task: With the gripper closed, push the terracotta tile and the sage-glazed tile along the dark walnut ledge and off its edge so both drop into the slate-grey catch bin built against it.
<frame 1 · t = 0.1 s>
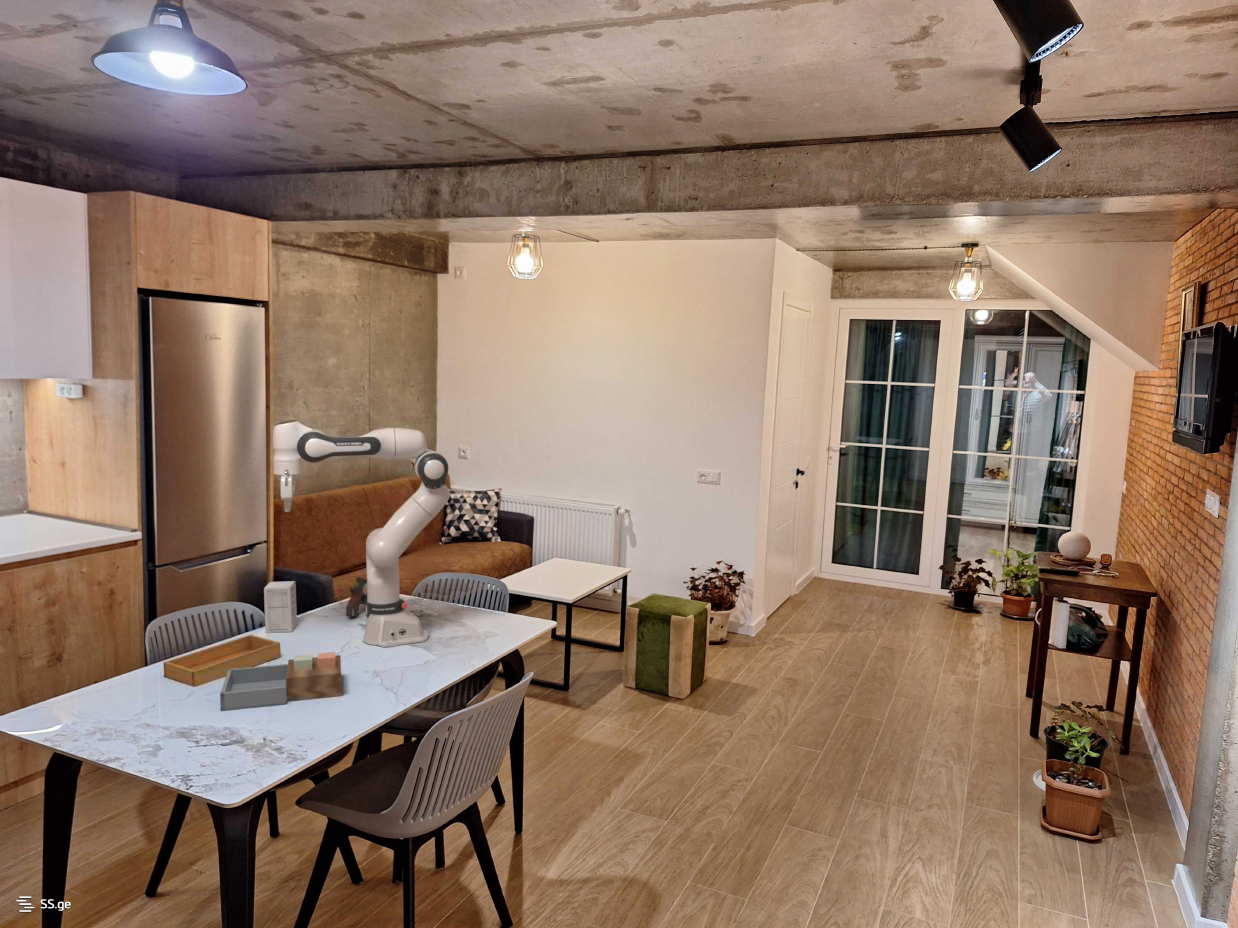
hand: (288, 509, 281), 48 cm above the table, fingers open, 8 cm apart
sage tile: (303, 667, 248), point 7 cm above the table, touching walnut ledge
supplement box: (281, 629, 305), on the table
gun: (364, 610, 332), on the table
tray: (224, 668, 266), on the table
walnut ledge: (314, 688, 249), on the table
catch bin: (256, 694, 244), on the table
terracotta tile: (326, 665, 250), point 7 cm above the table, touching walnut ledge
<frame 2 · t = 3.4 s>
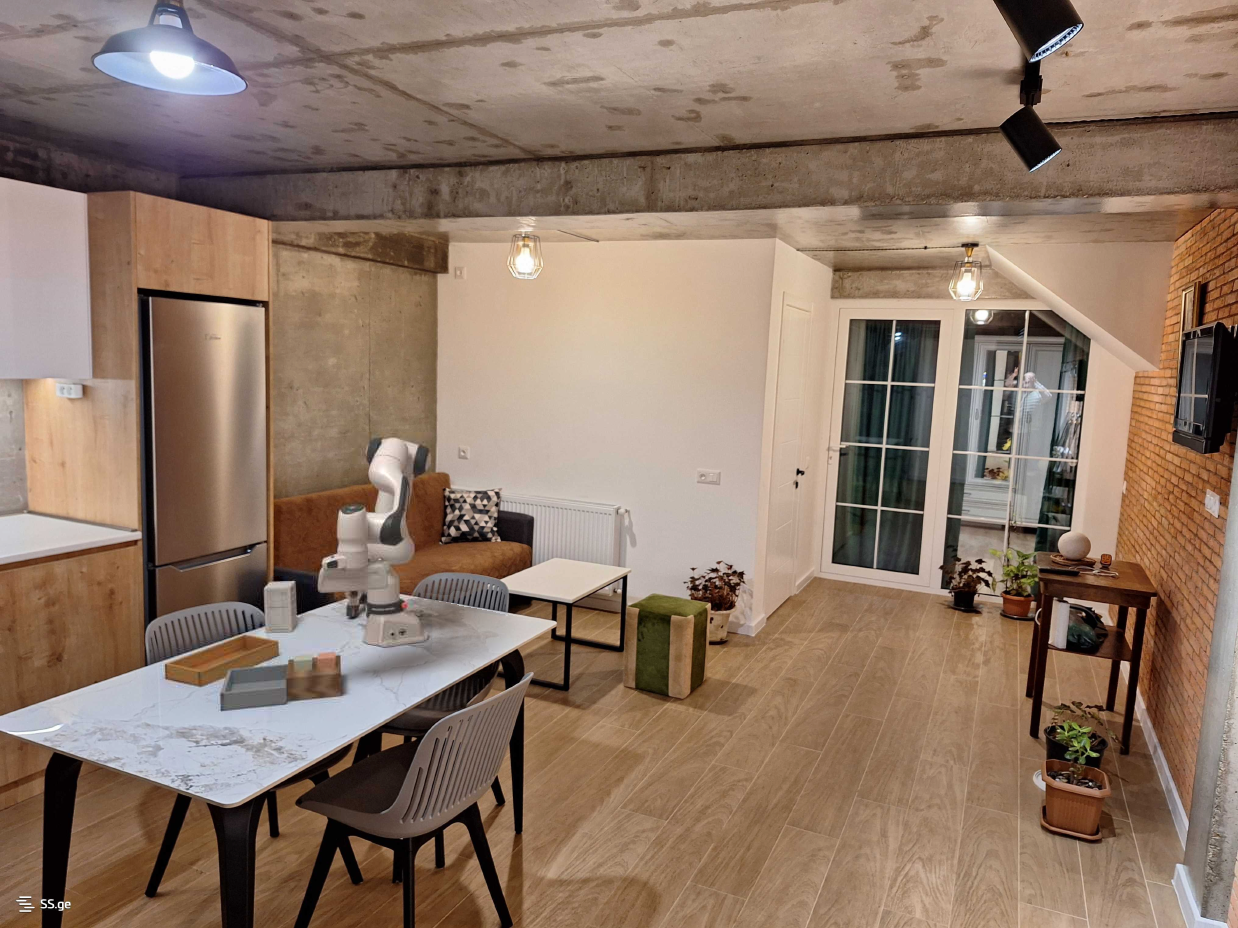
hand: (353, 604, 250), 25 cm above the table, fingers closed
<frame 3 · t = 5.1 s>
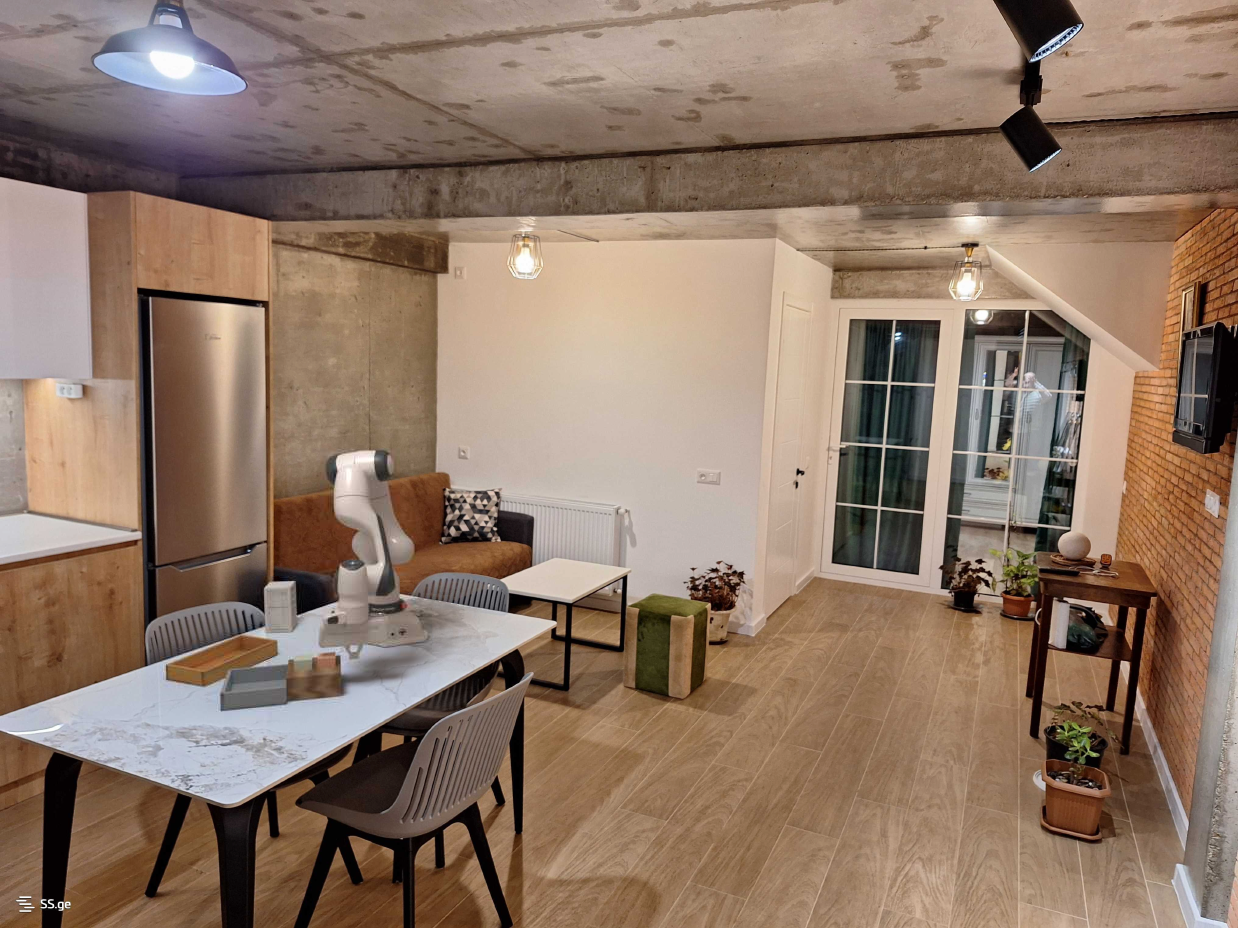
hand: (354, 658, 252), 8 cm above the table, fingers closed
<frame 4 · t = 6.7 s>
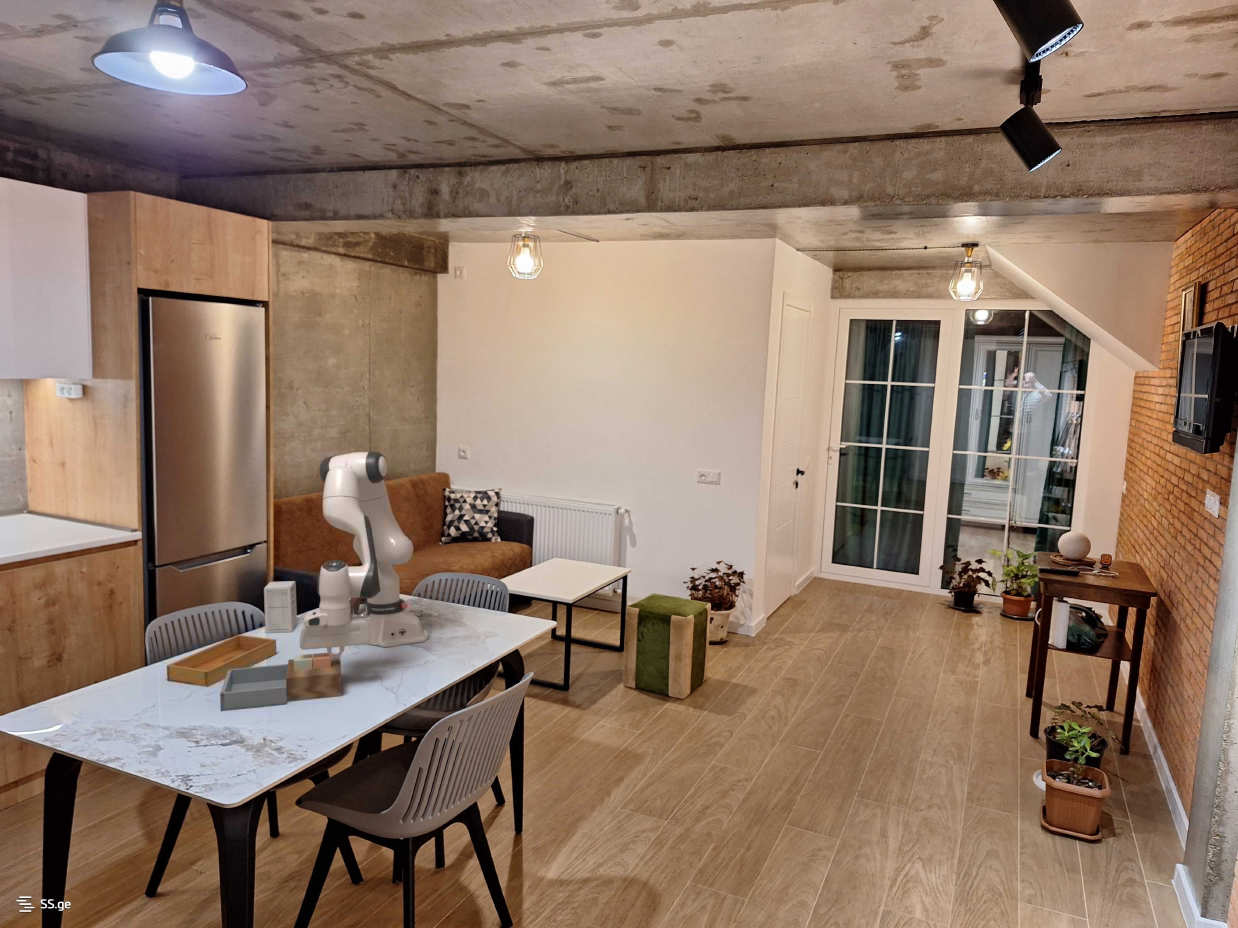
hand: (335, 660, 250), 8 cm above the table, fingers closed
terracotta tile: (321, 665, 249), point 7 cm above the table, touching gripper, walnut ledge
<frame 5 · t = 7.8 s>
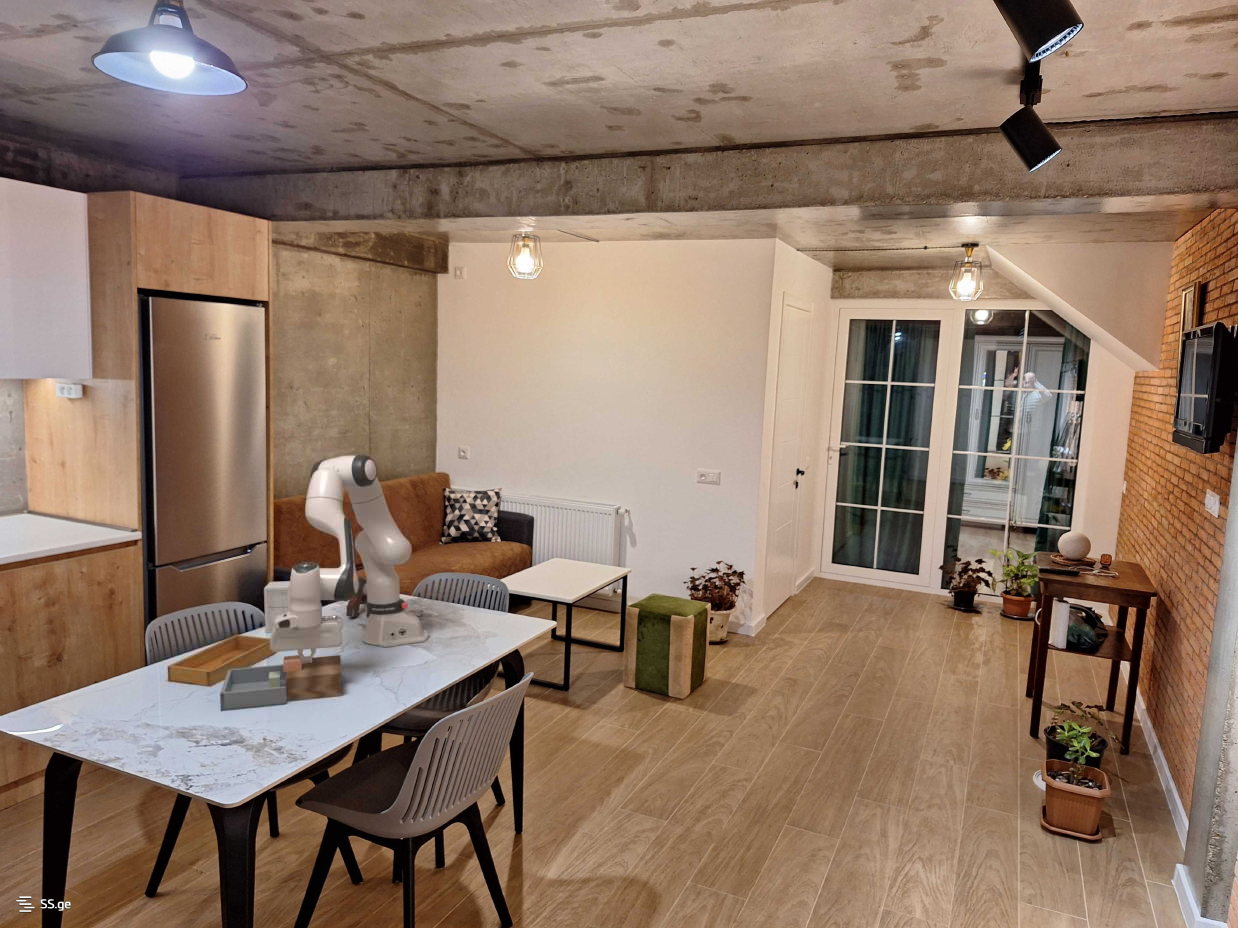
hand: (307, 662, 248), 8 cm above the table, fingers closed
sage tile: (280, 682, 246), point 3 cm above the table, tilted 90°, touching catch bin
terracotta tile: (292, 668, 247), point 7 cm above the table, touching gripper
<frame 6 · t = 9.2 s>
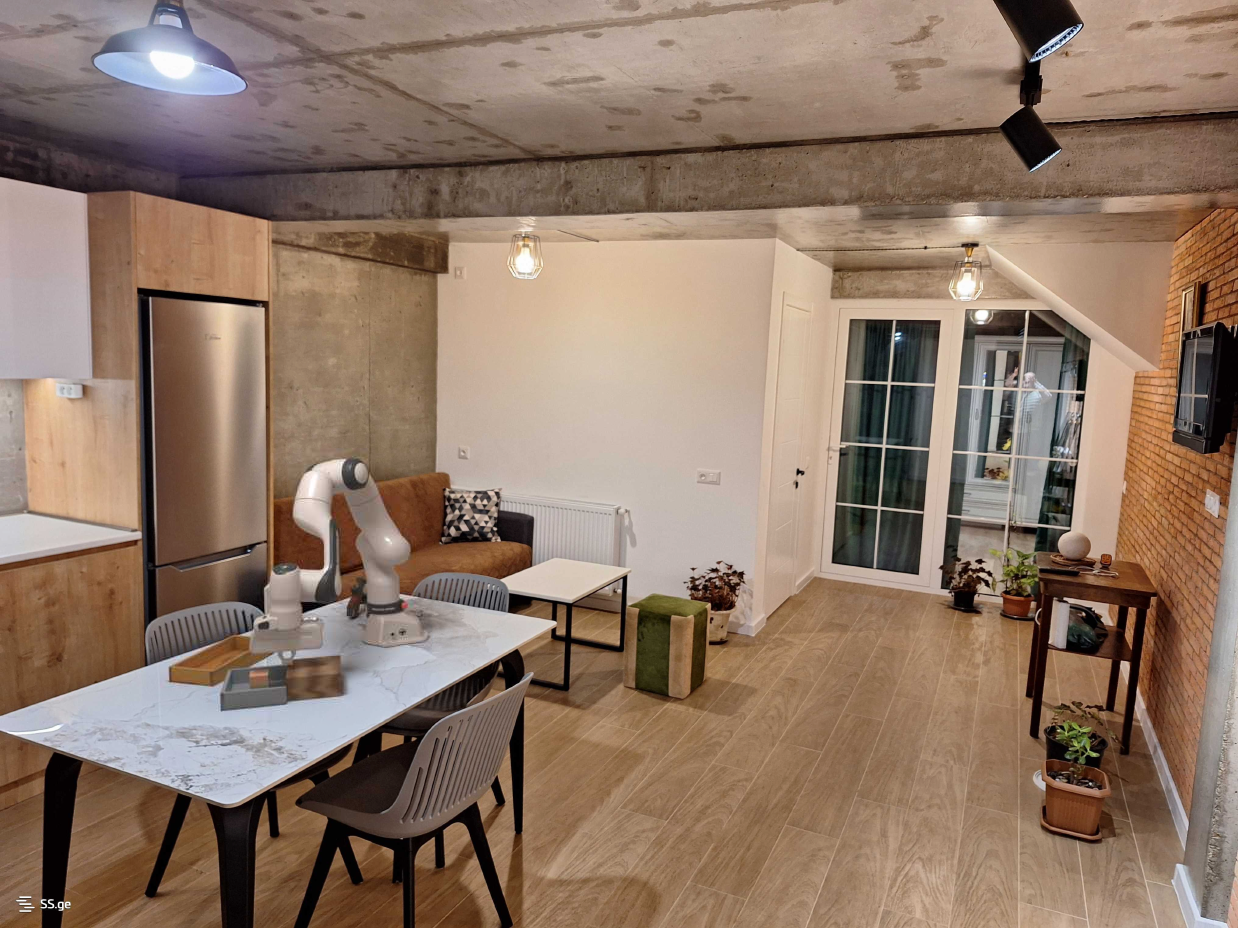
hand: (287, 664, 246), 8 cm above the table, fingers closed
sage tile: (259, 682, 244), point 3 cm above the table, tilted 180°, touching catch bin, terracotta tile
terracotta tile: (259, 682, 244), point 3 cm above the table, touching sage tile
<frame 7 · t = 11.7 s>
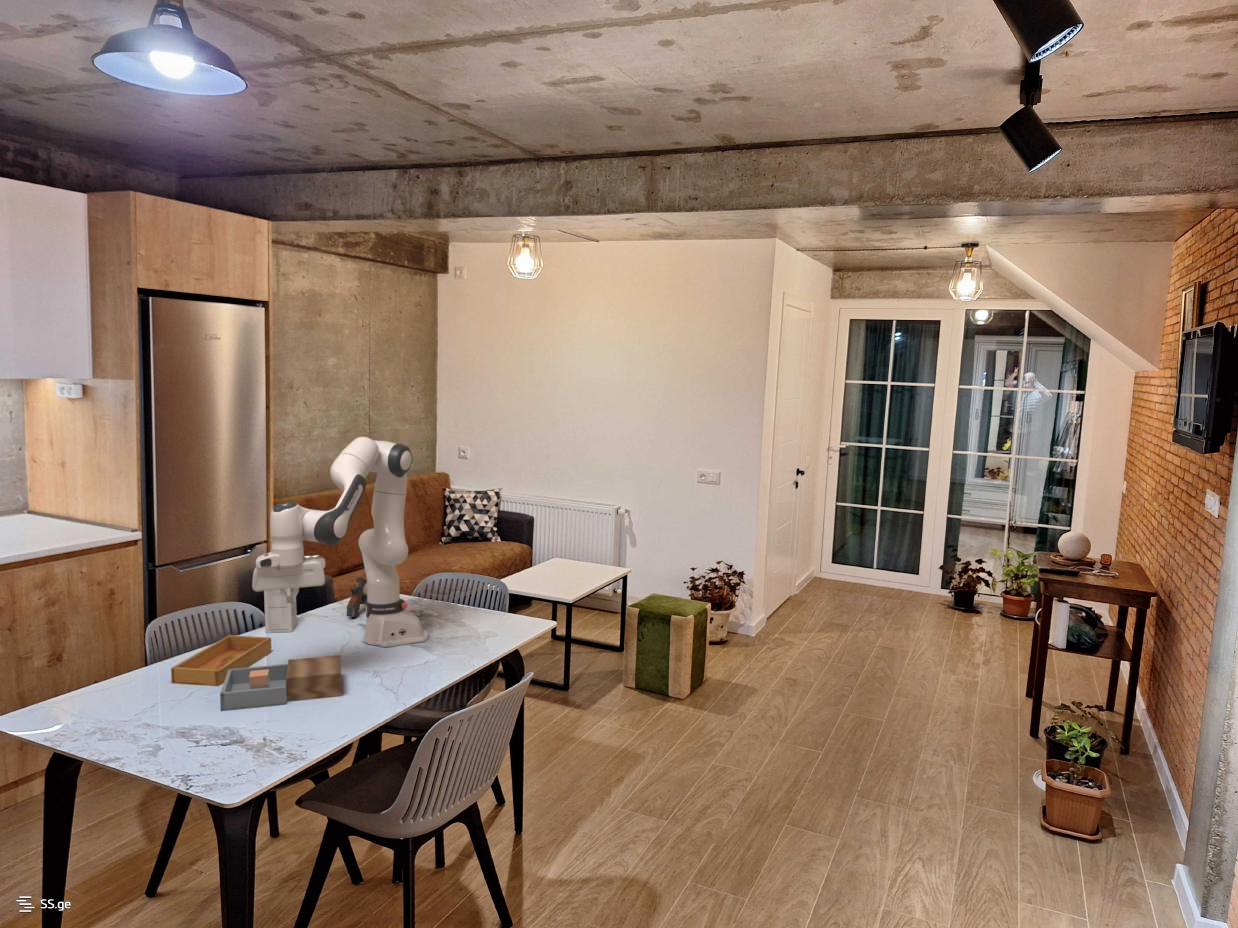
hand: (290, 602, 249), 26 cm above the table, fingers closed
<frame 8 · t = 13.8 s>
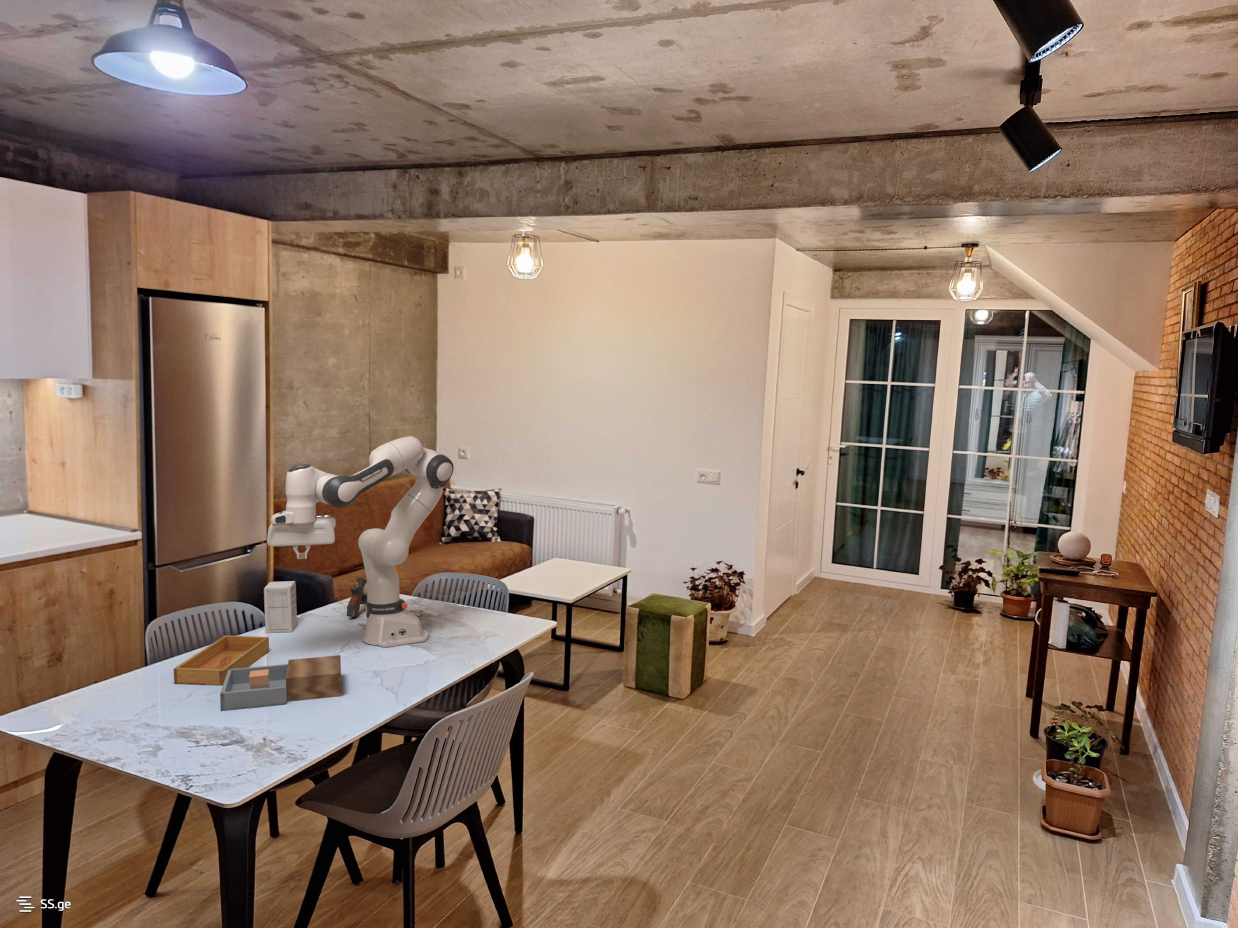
hand: (302, 558, 265), 35 cm above the table, fingers closed
at the end: terracotta tile inside the target area on the catch bin (0.4 cm from its centre), point 3.5 cm above the catch bin's base; sage tile inside the target area on the catch bin (0.4 cm from its centre), point 3.5 cm above the catch bin's base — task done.
